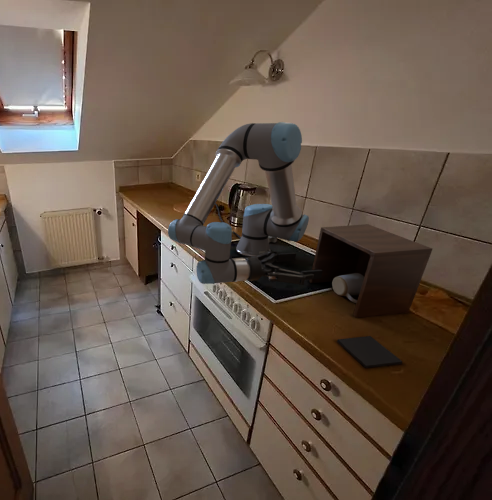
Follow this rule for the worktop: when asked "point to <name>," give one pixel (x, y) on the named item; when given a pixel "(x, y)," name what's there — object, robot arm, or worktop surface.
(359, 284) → the ceramic mug
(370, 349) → the mat
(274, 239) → the egg carton
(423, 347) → the worktop surface
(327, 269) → the cupboard
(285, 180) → the robot arm
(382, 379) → the worktop surface
